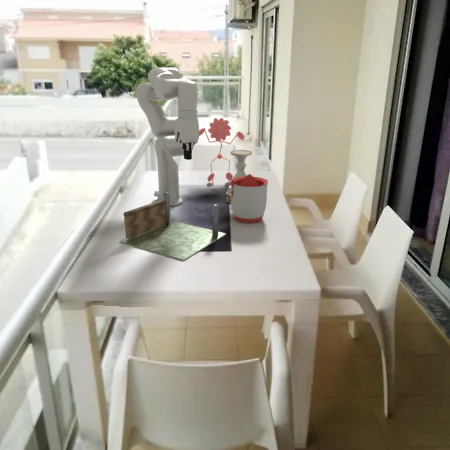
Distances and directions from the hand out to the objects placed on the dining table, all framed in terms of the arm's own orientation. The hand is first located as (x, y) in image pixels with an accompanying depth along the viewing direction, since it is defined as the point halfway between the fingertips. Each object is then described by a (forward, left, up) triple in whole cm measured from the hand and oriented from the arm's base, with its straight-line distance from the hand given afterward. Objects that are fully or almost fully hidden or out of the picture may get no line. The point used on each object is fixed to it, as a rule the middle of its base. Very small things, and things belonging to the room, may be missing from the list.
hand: (187, 159), depth 180 cm
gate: (-4, -23, -25) cm, 34 cm away
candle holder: (+7, +33, -26) cm, 43 cm away
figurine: (-20, +57, -26) cm, 66 cm away
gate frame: (+9, -22, -26) cm, 35 cm away
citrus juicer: (+22, +12, -26) cm, 36 cm away
